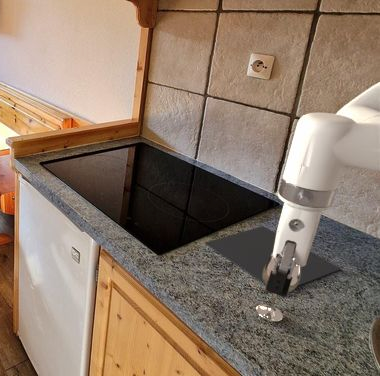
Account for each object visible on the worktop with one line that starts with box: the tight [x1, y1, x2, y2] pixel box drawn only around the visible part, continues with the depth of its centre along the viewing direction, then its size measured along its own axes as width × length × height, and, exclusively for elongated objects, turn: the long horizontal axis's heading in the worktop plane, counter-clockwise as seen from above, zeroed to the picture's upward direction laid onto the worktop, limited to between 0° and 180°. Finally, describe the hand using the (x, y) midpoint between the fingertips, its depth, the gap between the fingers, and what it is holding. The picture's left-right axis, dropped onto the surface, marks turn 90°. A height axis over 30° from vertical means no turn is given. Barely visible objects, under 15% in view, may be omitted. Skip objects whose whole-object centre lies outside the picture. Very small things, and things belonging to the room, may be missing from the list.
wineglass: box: [255, 253, 301, 322], centre depth 72 cm, size 6×6×12 cm
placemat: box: [204, 225, 342, 288], centre depth 93 cm, size 20×20×1 cm
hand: (278, 282), depth 72 cm, fingers closed on wineglass, 5 cm apart
